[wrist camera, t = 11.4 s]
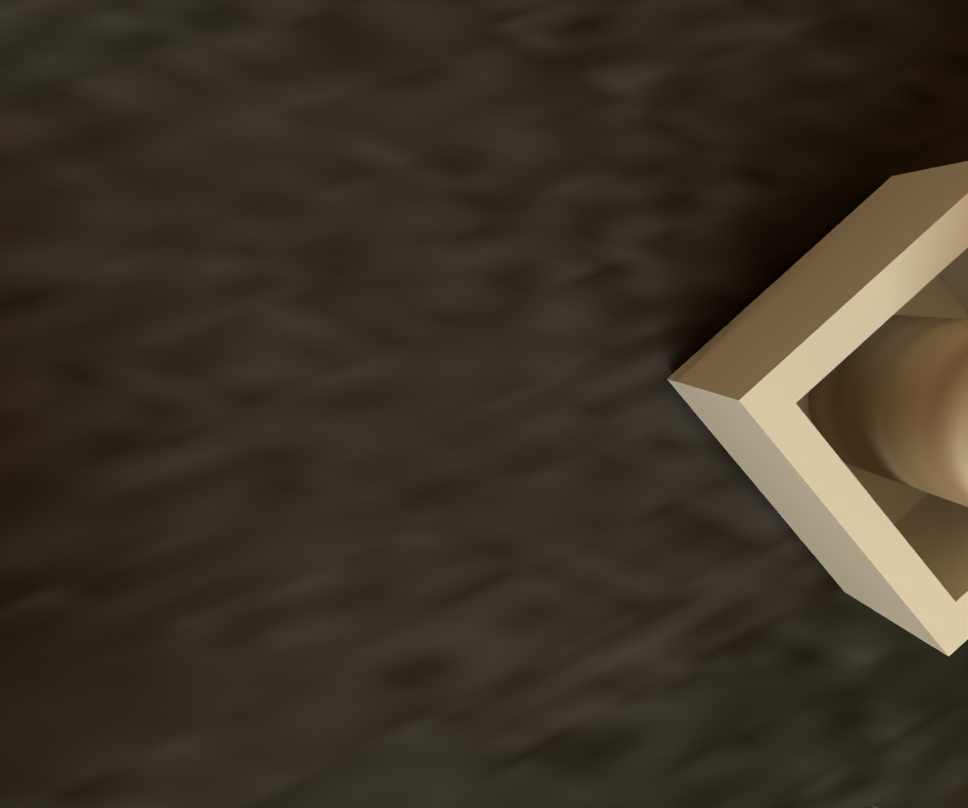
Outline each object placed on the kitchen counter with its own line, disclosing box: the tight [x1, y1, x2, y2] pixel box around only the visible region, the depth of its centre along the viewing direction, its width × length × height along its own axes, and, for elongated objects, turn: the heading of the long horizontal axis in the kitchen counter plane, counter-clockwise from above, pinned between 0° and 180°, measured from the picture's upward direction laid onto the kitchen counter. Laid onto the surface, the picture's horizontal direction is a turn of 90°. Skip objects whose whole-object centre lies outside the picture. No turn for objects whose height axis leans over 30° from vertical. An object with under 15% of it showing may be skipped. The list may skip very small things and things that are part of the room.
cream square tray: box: [667, 161, 968, 656], centre depth 20 cm, size 7×7×4 cm
